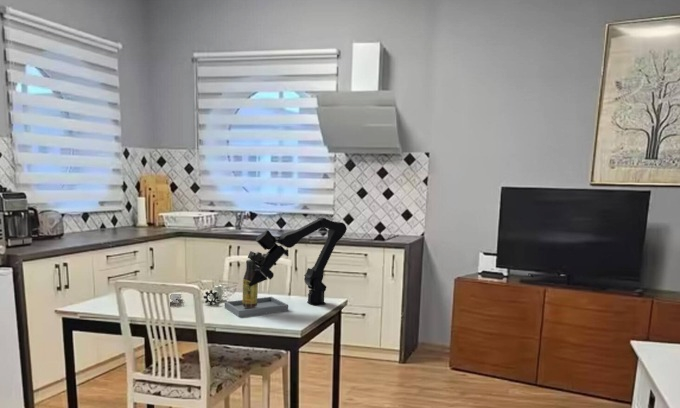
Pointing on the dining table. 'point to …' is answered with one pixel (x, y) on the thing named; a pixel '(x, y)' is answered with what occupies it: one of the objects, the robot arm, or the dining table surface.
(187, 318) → the dining table surface
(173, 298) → the penguin figurine
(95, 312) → the dining table surface
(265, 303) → the tray
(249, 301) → the sauce bottle
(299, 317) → the dining table surface
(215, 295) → the valve
